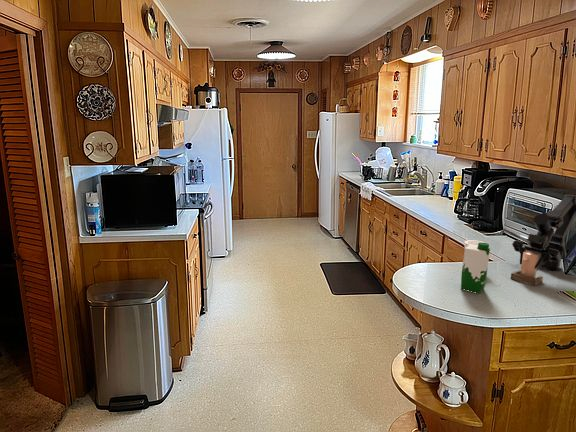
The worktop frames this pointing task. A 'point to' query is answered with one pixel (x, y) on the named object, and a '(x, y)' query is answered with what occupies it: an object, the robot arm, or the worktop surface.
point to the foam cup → (472, 242)
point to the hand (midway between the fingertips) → (527, 266)
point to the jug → (529, 264)
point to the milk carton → (475, 267)
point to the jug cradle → (526, 278)
